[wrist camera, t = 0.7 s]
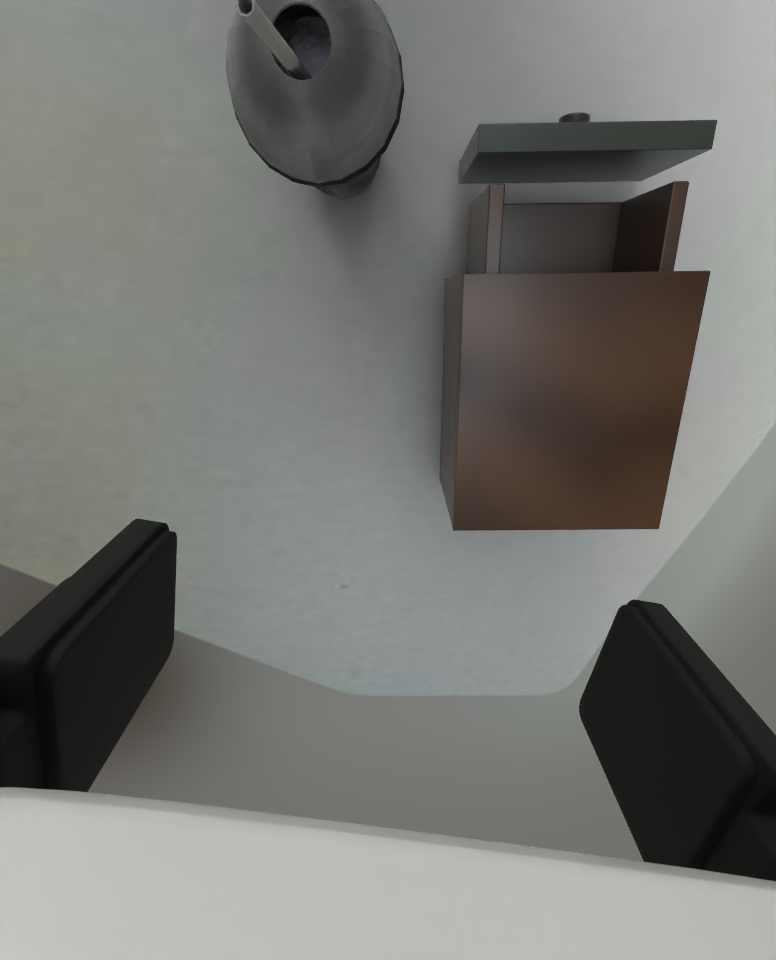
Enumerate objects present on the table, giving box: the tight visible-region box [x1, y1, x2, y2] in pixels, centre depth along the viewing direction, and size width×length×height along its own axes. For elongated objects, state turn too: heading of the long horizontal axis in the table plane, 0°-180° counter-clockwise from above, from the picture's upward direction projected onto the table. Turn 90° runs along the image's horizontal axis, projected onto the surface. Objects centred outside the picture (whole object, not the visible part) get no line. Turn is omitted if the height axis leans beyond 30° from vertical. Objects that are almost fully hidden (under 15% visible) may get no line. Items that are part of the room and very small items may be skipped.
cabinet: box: [440, 271, 710, 531], centre depth 32 cm, size 15×13×9 cm
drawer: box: [459, 113, 717, 274], centre depth 29 cm, size 15×11×7 cm
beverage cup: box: [226, 0, 404, 198], centre depth 22 cm, size 7×7×20 cm
